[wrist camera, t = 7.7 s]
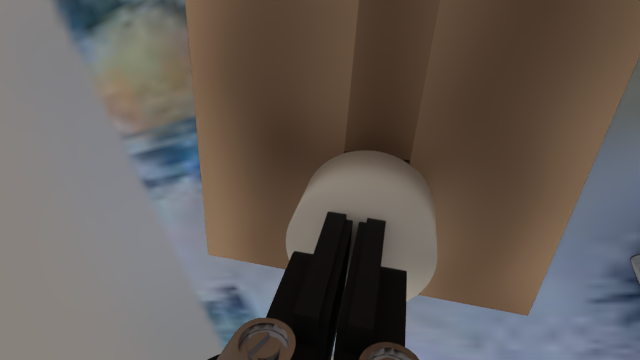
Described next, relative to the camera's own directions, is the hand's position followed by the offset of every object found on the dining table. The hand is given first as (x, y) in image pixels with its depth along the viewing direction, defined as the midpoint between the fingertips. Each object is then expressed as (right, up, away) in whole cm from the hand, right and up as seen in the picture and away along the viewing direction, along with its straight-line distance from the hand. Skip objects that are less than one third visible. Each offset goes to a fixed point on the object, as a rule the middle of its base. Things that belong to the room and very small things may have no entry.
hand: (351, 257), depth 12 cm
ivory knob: (+1, +3, +5) cm, 6 cm away
